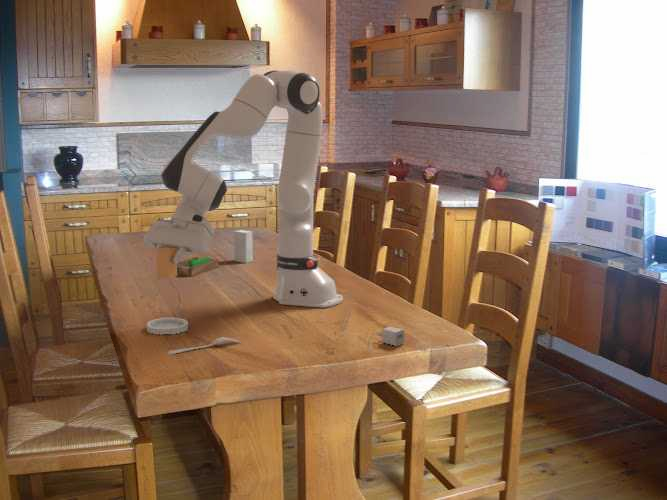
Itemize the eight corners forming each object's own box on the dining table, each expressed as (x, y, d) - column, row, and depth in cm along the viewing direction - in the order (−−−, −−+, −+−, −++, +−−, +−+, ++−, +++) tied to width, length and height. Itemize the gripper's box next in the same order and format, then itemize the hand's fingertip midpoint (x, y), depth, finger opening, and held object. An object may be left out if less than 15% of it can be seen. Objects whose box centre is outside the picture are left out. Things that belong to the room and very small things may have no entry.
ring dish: (195, 326, 218) (195, 320, 218) (171, 336, 208) (171, 331, 208) (163, 321, 222) (163, 315, 222) (138, 331, 213) (138, 325, 212)
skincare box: (253, 261, 304) (252, 231, 301) (246, 263, 300) (245, 232, 298) (240, 259, 307) (240, 229, 304) (234, 261, 303) (233, 231, 301)
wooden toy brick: (177, 275, 220) (176, 248, 218) (168, 278, 216) (168, 250, 215) (165, 274, 222) (165, 246, 220) (156, 276, 218) (156, 249, 217)
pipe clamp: (202, 268, 291) (201, 256, 291) (210, 269, 290) (210, 257, 289) (184, 274, 281) (184, 261, 281) (192, 275, 280) (192, 262, 279)
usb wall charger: (394, 347, 202) (395, 332, 201) (374, 341, 207) (374, 327, 206) (404, 343, 205) (404, 329, 204) (383, 338, 210) (383, 324, 209)
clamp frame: (219, 266, 293) (219, 259, 293) (190, 276, 277) (190, 268, 276) (196, 264, 297) (196, 256, 297) (167, 273, 281) (166, 265, 280)
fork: (165, 362, 196) (163, 352, 196) (240, 341, 206) (238, 331, 206) (168, 365, 194) (167, 355, 193) (244, 344, 204) (243, 334, 203)
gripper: (152, 211, 226) (130, 250, 219) (210, 218, 218) (190, 258, 211) (161, 224, 231) (141, 262, 224) (219, 232, 223) (199, 271, 216)
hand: (165, 260), depth 218 cm, fingers closed on wooden toy brick, 4 cm apart
